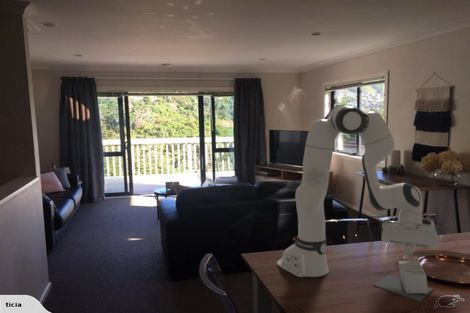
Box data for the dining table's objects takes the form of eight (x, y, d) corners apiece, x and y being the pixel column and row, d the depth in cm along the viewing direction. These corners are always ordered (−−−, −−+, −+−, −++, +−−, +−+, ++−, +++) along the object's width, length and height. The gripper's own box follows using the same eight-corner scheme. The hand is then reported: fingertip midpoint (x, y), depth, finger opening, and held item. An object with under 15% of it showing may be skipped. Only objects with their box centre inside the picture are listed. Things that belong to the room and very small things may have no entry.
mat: (373, 285, 138) (373, 284, 138) (387, 275, 146) (387, 274, 146) (420, 302, 126) (420, 300, 126) (432, 289, 134) (432, 288, 134)
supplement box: (420, 278, 141) (428, 294, 129) (399, 278, 143) (405, 293, 131) (418, 260, 140) (426, 274, 128) (398, 260, 142) (404, 274, 130)
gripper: (382, 216, 149) (379, 247, 142) (438, 222, 140) (438, 255, 133) (382, 223, 154) (379, 253, 147) (437, 230, 145) (437, 262, 137)
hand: (408, 254), depth 140 cm, fingers closed
